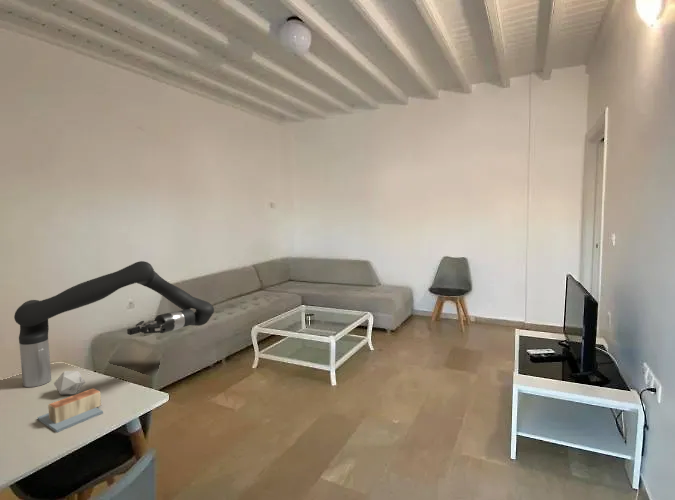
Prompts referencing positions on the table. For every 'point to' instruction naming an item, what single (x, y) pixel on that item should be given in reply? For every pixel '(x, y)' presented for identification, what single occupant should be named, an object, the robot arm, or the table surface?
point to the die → (69, 382)
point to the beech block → (74, 405)
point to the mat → (70, 421)
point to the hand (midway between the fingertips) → (128, 332)
